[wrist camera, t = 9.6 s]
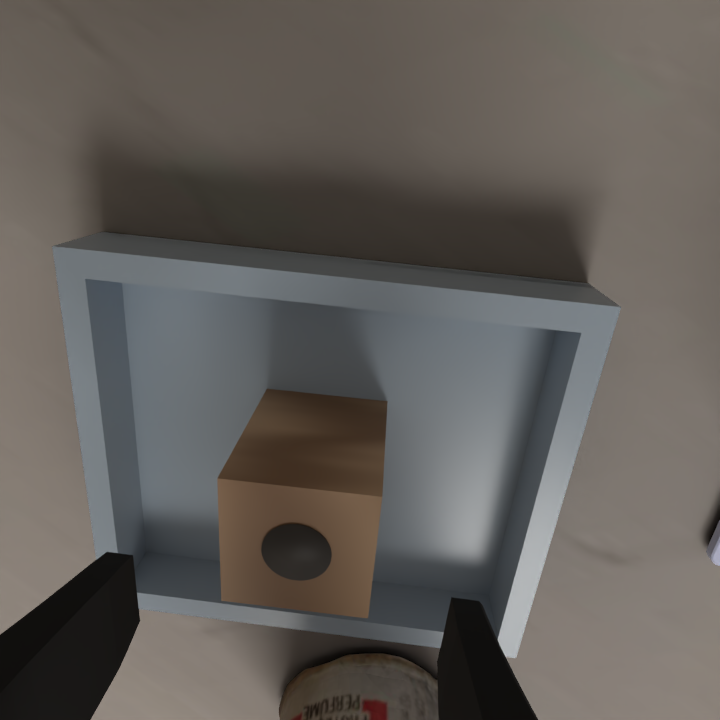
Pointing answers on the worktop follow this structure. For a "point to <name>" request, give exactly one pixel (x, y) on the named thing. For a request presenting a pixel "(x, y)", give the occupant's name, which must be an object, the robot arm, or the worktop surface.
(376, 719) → the spray can
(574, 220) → the worktop surface
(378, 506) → the tan wooden block
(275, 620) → the slate tray
